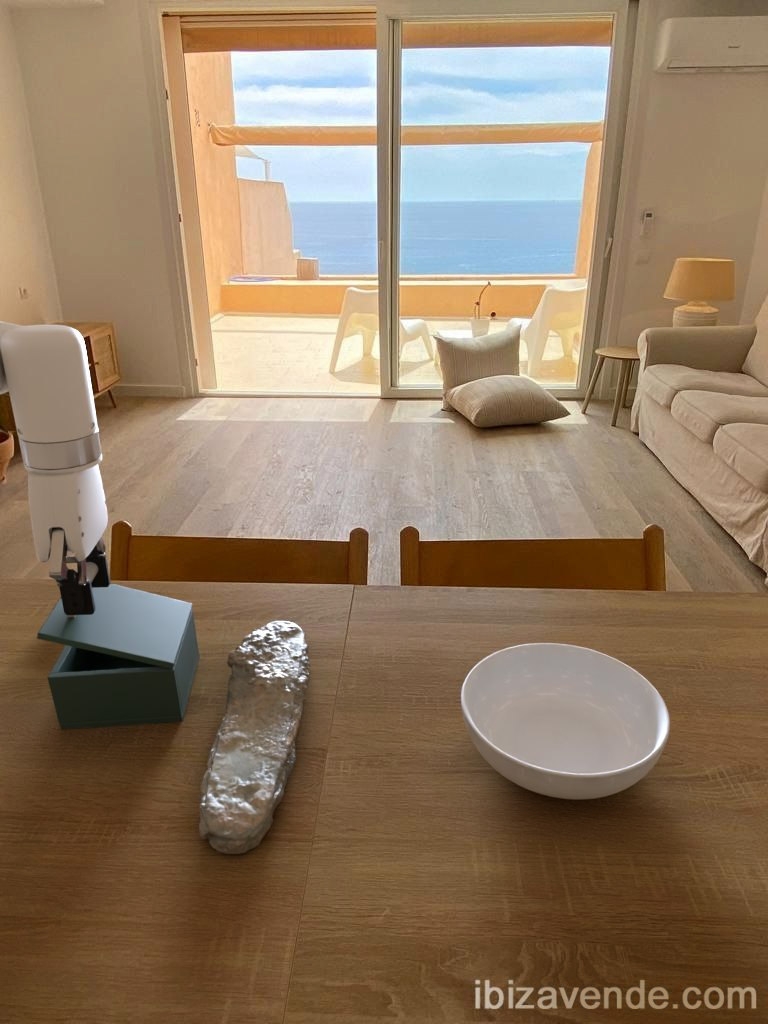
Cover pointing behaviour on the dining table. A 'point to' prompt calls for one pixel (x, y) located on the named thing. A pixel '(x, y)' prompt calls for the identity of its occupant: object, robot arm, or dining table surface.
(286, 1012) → the dining table surface
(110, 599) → the bin lid
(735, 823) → the dining table surface
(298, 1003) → the dining table surface
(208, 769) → the foil wrapped baguette
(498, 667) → the serving bowl
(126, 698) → the green bin
